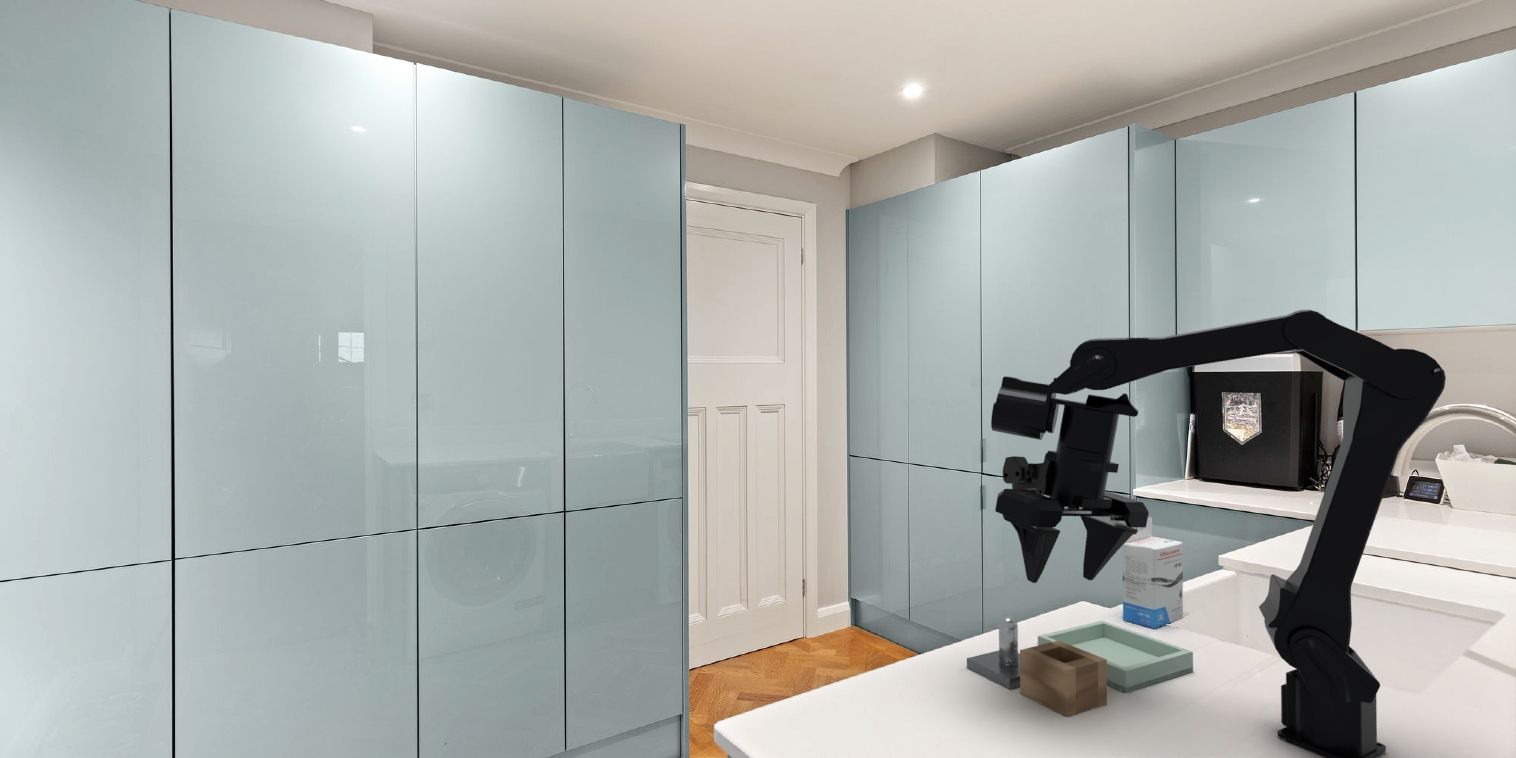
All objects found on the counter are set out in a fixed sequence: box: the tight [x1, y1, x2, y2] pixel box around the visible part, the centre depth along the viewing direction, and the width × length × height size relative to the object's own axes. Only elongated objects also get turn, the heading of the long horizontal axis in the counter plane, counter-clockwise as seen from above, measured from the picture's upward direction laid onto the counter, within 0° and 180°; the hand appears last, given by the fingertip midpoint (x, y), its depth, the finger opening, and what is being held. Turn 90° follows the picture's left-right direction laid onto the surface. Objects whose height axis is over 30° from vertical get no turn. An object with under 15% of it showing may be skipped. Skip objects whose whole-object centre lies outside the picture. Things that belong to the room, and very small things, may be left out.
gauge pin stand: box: [966, 615, 1020, 690], centre depth 86 cm, size 7×7×7 cm
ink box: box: [1122, 516, 1184, 629], centre depth 105 cm, size 8×5×15 cm, turn 123°
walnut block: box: [1019, 641, 1108, 718], centre depth 79 cm, size 6×6×5 cm
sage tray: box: [1037, 620, 1194, 693], centre depth 89 cm, size 13×13×2 cm
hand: (1060, 580), depth 81 cm, fingers open, 9 cm apart
